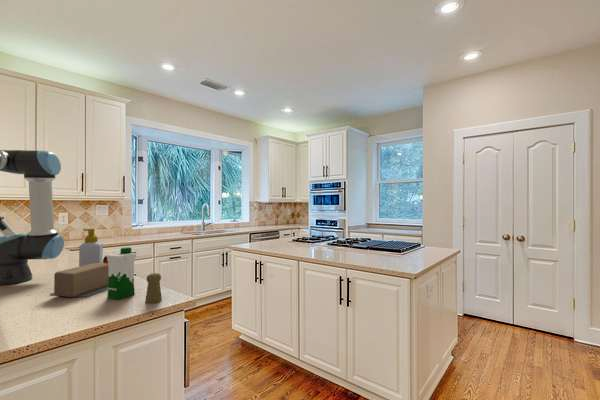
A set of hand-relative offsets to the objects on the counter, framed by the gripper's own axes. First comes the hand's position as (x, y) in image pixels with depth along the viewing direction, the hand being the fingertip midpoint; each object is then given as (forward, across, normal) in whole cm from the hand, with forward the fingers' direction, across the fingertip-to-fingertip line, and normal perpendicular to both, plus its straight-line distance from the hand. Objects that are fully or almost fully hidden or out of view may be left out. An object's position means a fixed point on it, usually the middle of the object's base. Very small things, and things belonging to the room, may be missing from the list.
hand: (11, 235), depth 111 cm
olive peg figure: (+41, +36, +22) cm, 58 cm away
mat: (+36, -1, +6) cm, 37 cm away
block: (+26, +6, +2) cm, 26 cm away
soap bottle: (+43, -27, +9) cm, 51 cm away
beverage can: (+44, -14, +15) cm, 49 cm away
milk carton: (+38, +20, +14) cm, 46 cm away
